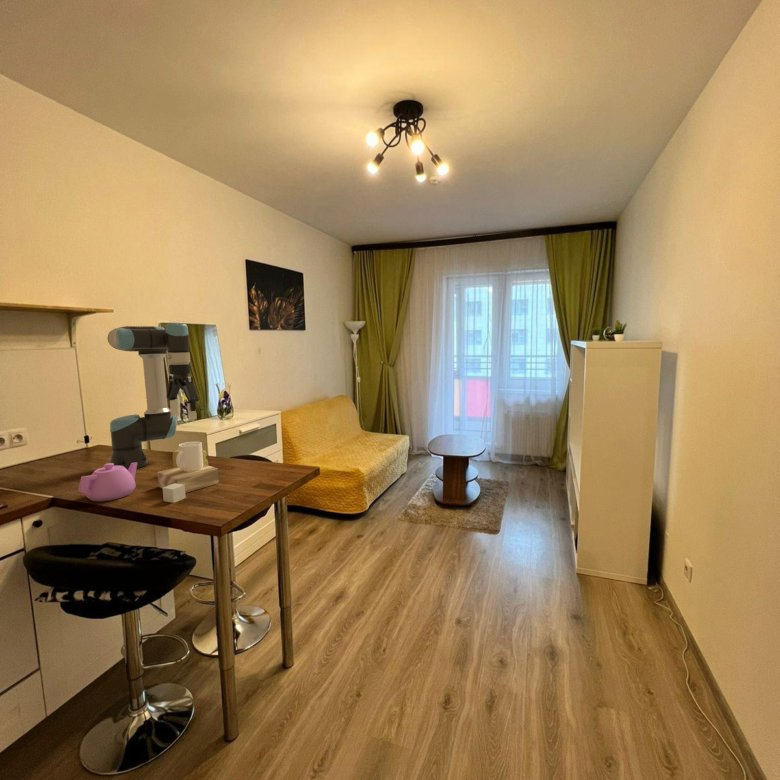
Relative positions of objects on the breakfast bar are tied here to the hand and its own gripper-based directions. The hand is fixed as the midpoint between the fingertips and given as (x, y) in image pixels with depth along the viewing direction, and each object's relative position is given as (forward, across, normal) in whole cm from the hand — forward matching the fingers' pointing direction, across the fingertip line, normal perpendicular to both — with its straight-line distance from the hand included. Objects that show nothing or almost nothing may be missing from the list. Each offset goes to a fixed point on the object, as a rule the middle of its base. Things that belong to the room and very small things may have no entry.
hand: (183, 417), depth 161 cm
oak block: (+27, +1, 0) cm, 27 cm away
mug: (+21, +2, 0) cm, 21 cm away
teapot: (+27, -13, -22) cm, 38 cm away
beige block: (+27, +12, -11) cm, 32 cm away
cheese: (+27, -18, +10) cm, 34 cm away
